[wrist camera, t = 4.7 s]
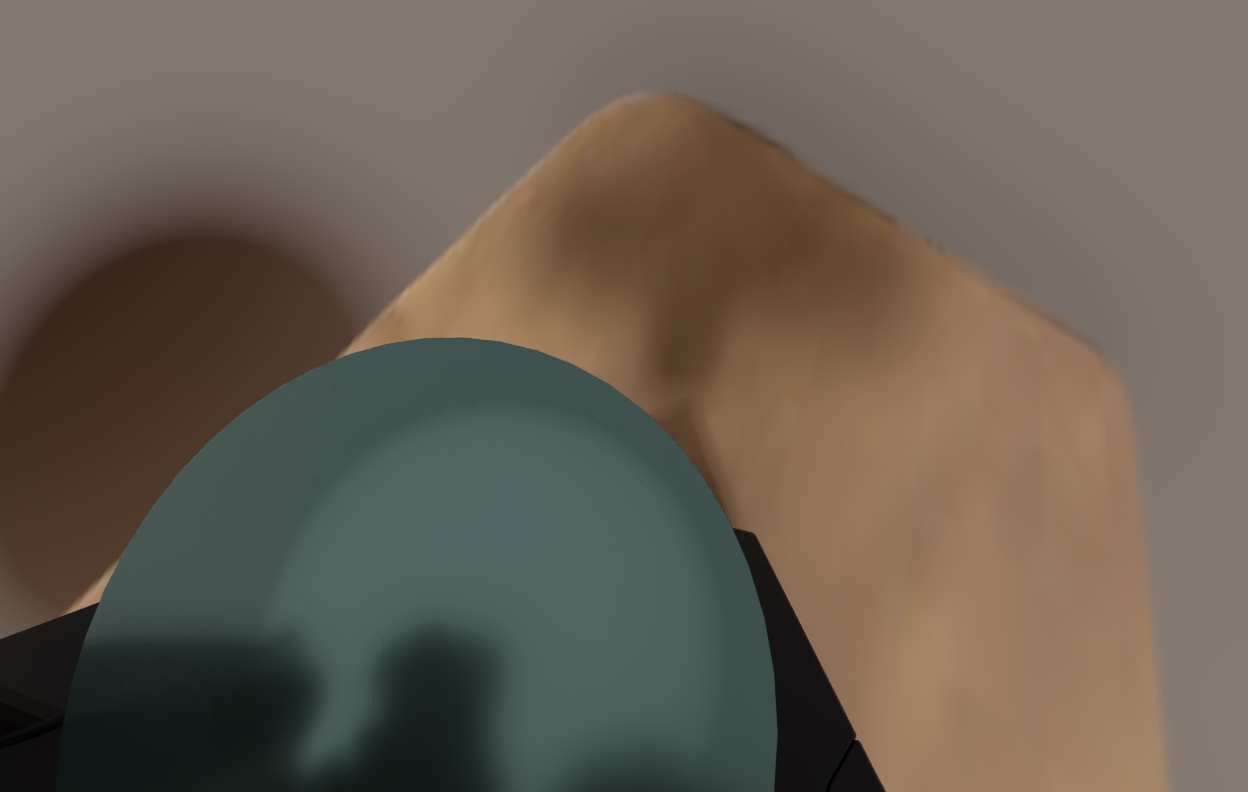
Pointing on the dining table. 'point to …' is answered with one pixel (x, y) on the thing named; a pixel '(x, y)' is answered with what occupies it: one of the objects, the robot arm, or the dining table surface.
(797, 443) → the dining table surface
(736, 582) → the teal cylinder
